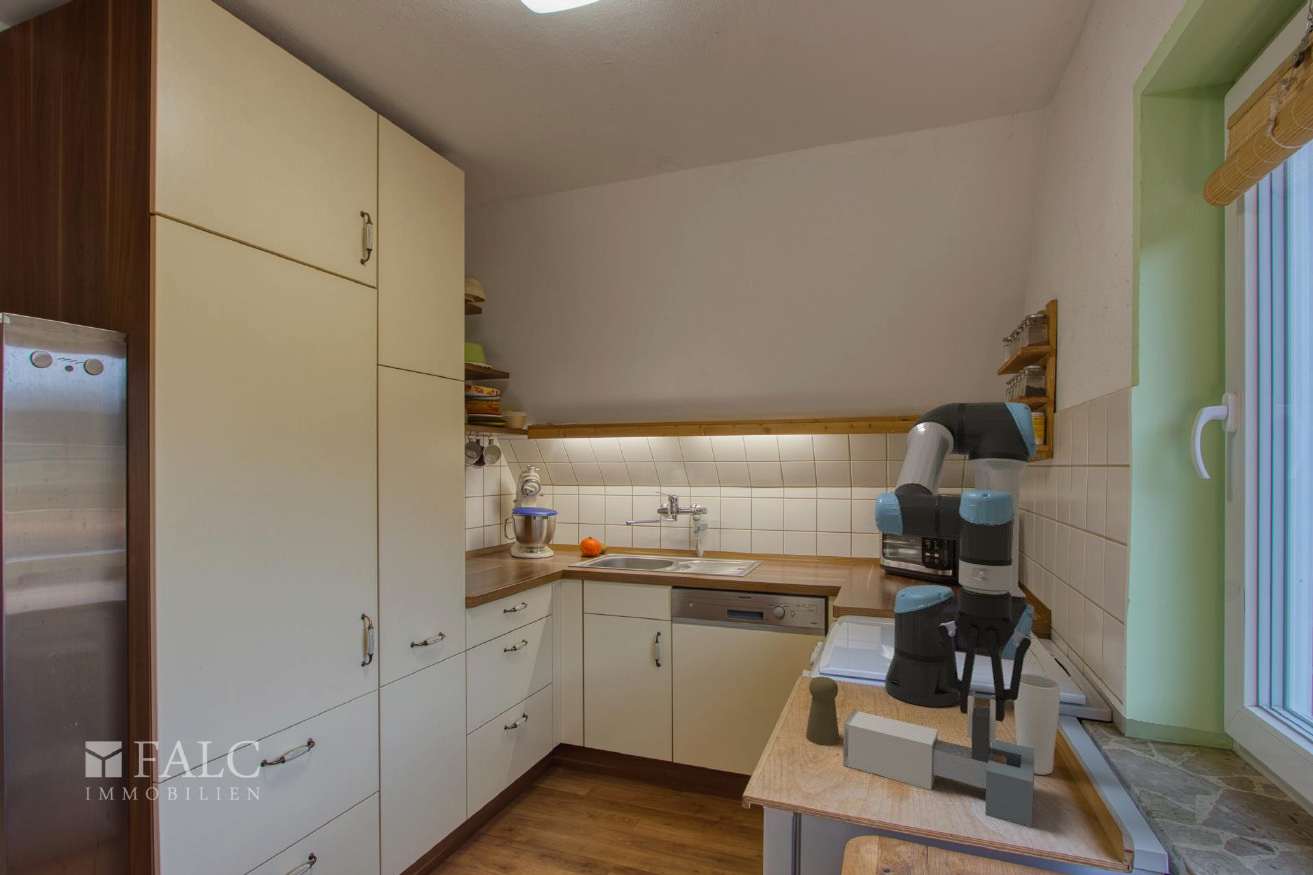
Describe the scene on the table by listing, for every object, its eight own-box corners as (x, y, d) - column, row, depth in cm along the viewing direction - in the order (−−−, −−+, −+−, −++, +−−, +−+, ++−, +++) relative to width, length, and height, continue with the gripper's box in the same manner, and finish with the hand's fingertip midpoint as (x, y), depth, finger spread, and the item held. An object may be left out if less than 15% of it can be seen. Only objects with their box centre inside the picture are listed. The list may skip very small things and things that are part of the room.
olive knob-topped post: (840, 747, 118) (841, 686, 118) (806, 743, 119) (807, 683, 119) (838, 732, 124) (839, 674, 124) (805, 728, 125) (806, 671, 125)
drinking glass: (1062, 781, 107) (1064, 690, 107) (1015, 773, 110) (1017, 684, 110) (1053, 762, 114) (1055, 676, 114) (1009, 755, 116) (1011, 671, 116)
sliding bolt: (888, 751, 113) (889, 687, 113) (1006, 781, 103) (1007, 712, 103) (882, 761, 109) (884, 695, 109) (1004, 793, 100) (1006, 721, 100)
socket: (991, 778, 108) (992, 738, 108) (1033, 789, 105) (1034, 748, 105) (985, 814, 98) (986, 770, 98) (1031, 827, 95) (1032, 781, 95)
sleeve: (852, 750, 117) (853, 710, 117) (936, 772, 110) (937, 729, 110) (842, 765, 111) (843, 723, 111) (930, 789, 104) (931, 744, 104)
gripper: (928, 586, 104) (925, 733, 104) (1041, 600, 96) (1037, 760, 96) (935, 577, 110) (932, 716, 111) (1042, 590, 102) (1039, 740, 103)
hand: (981, 736), depth 103 cm, fingers closed on sliding bolt, 2 cm apart
